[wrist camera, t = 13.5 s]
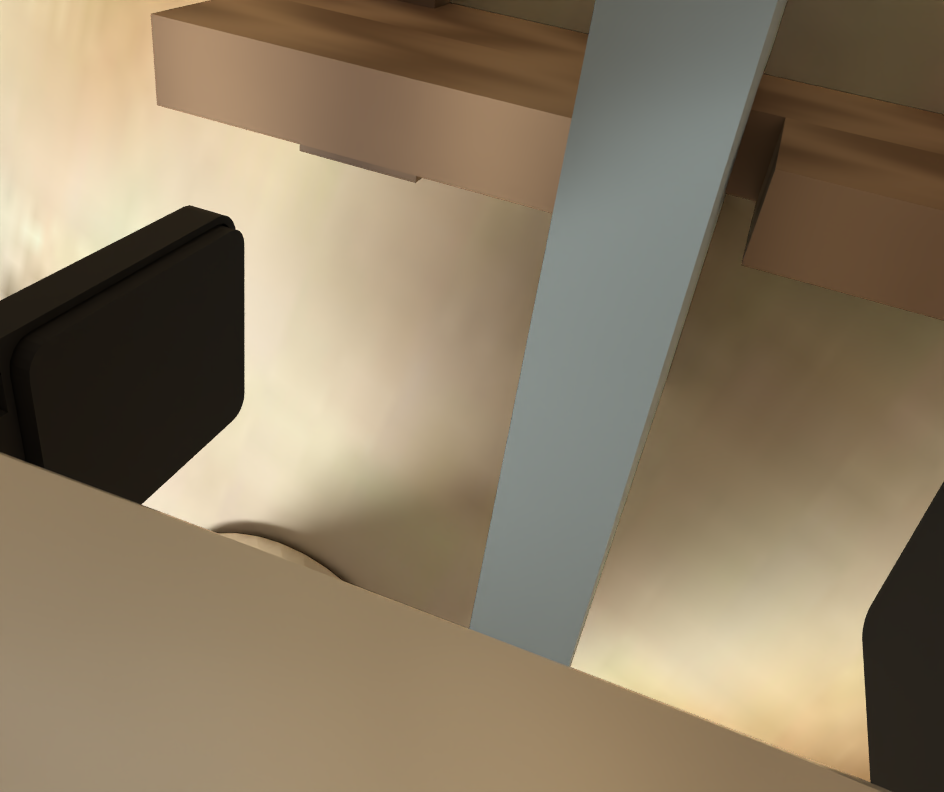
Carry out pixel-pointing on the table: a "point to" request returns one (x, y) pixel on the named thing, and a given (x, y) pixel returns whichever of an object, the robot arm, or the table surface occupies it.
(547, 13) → the table surface
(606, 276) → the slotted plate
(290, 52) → the slotted board
